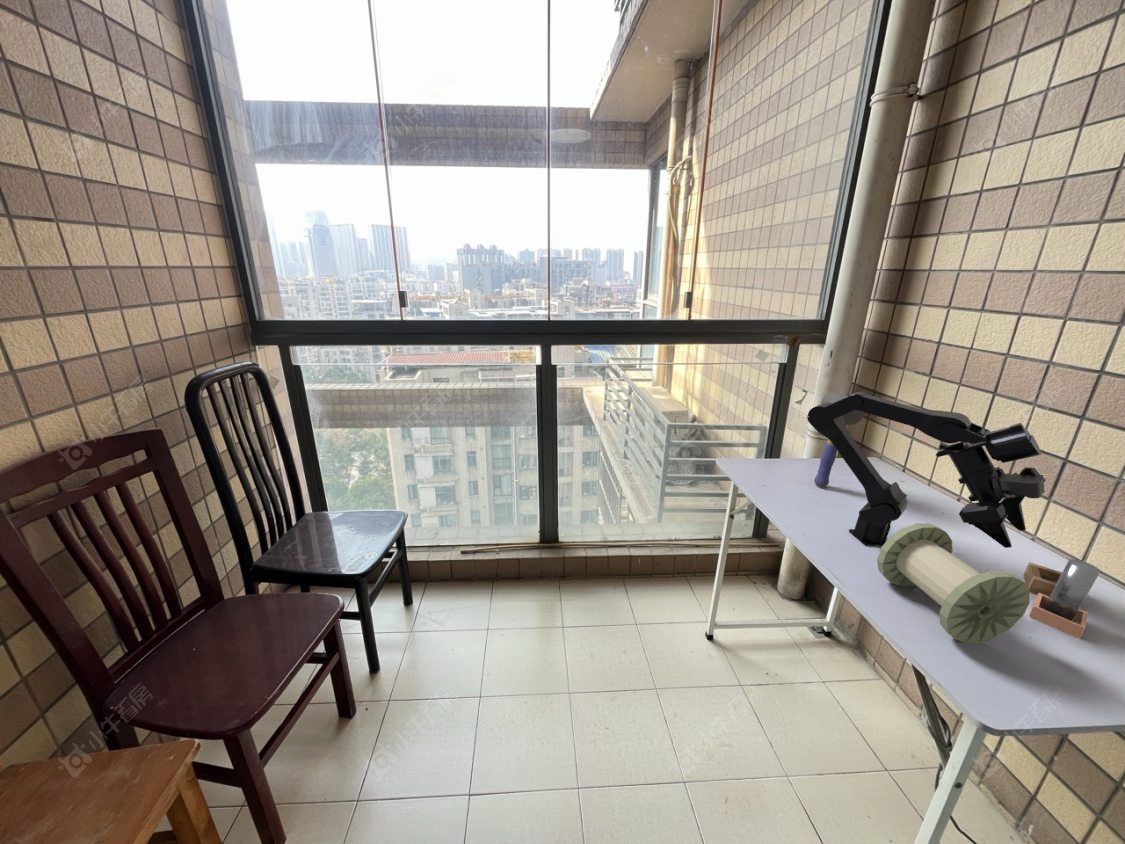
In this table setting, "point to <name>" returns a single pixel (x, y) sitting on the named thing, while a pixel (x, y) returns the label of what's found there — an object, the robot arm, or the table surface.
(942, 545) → the spool
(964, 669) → the table surface
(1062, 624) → the socket block
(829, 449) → the rubber mallet
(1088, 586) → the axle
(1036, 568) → the wooden square frame
